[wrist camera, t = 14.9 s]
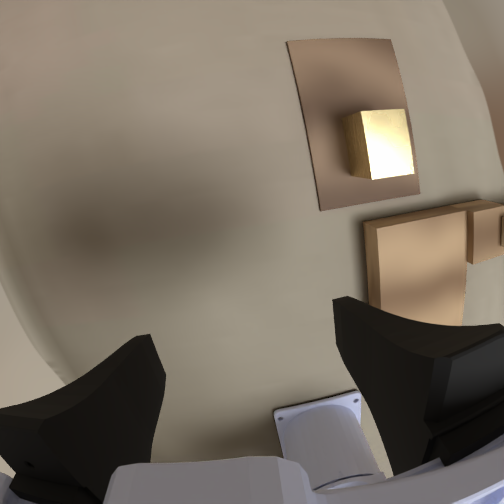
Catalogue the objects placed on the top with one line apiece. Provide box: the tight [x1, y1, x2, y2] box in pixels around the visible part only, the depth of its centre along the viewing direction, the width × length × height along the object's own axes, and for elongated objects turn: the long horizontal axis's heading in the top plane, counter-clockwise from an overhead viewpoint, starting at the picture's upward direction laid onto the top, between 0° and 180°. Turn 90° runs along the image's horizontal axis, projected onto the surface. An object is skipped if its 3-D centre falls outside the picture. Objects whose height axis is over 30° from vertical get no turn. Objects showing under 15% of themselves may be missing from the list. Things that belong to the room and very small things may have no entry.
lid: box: [287, 38, 420, 211], centre depth 18 cm, size 12×8×4 cm, turn 11°
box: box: [363, 199, 504, 326], centre depth 22 cm, size 12×12×3 cm
